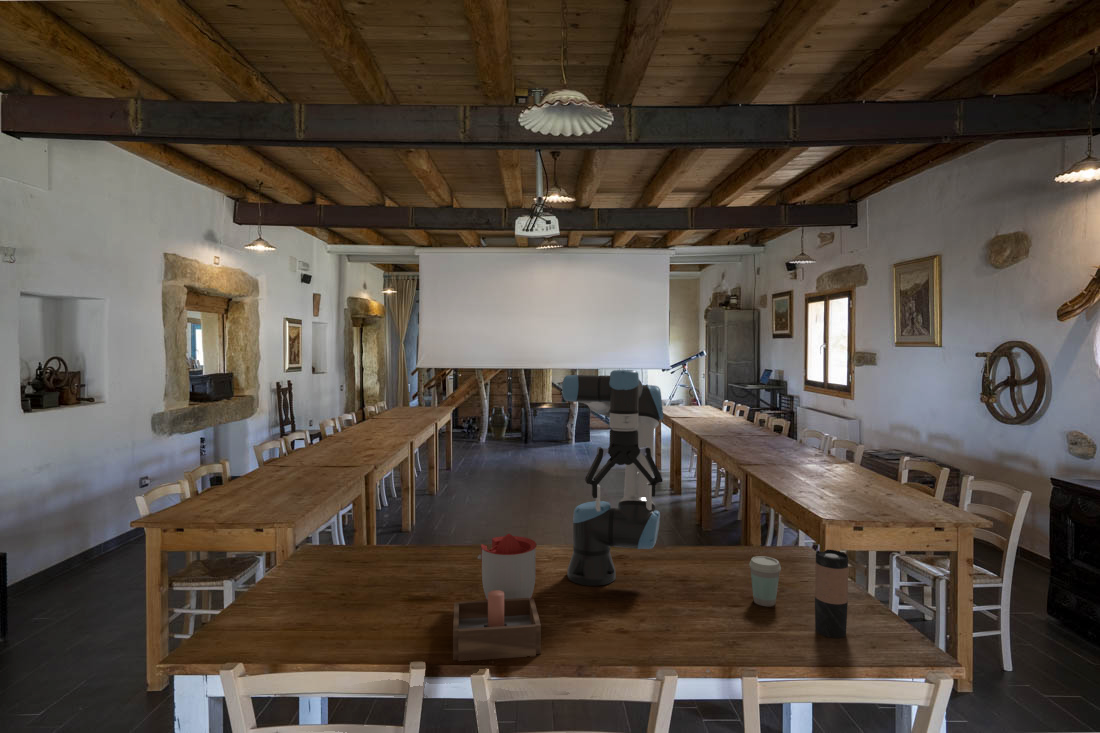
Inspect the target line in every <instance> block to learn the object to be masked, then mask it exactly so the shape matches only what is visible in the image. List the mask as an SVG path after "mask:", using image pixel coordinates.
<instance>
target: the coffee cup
mask: <svg viewBox="0 0 1100 733" xmlns="http://www.w3.org/2000/svg"><path fill="white" fill-rule="evenodd" d="M748 566H749V568H750V577H751V587H752V597H753V603H755V604H756V605H759V606H762V607H774V606H775V605H776V603H777V602H776V600H777V595H778V587H779V580H780V572H781V570H782V567H781V564H780V561H779V560H778V559H776V558H774V557H770V556H764V555H763V556H761V555H760V556H759V555H757V556H752V557H751V560H750V562H749V564H748Z"/></svg>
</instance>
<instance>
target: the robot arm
mask: <svg viewBox="0 0 1100 733" xmlns="http://www.w3.org/2000/svg"><path fill="white" fill-rule="evenodd" d="M609 374H610V375H593V374H592V375H591V374H589V375H587V374H586V375H585V374H584V375H583V374H580V375H579V374H573V375H572V374H569V375H568V374H567V375H565V376H564V377H563V380H562V390H561V391H562V393H561V394H562V397H563V400H564V401H566V402H572V403H578V402H579V403H583V404H584V405H586V406H588V408H589V409H590V410H591V411H592V412H594V413H595V414H598V415H601V416H604V417H607V418H609V427H610V428H611V429H610V430H609V446H608V447H607V448H604V447H603V448H602V447H601V446H598V447H597V449H596V450H597V451H596V455H595V458H594V459H593V462H592V463H591V466H590V467H589V470H588V472H587V474H586V476H585V477H584V481H585V483H586V484H588V485H591V496H592V498H593V499H595V500H594V501H587V502H584V503H581V504H579V505H577V506H576V507H575V508H574V510H573V518H572V526H573V527H572V528H573V532H572V533H573V534H572V540H573V543H572V545H573V547H572V548H573V549H572V550H573V551H572V554H571V558H570V561H569V564H568V567H567V578H568V580H569V581H571V582H573V583H575V584H577V585H581V586H591V587H595V586H596V587H597V586H604V585H608V584H611V583H613V582H614V581H615V580H616V575H617V574H616V567H615V565H614V561H613V558H612V555H611V547H615V548H616V547H617V548H628V549H631V548H632V549H637V550H651V549H653V548H654V547H655V545H656V542H657V539H658V535H659V527H660V519H661V512H660V511H659V510H656V504H655V503H654V502H653V500H652V498H653V497H654V498H655V496H656V486H657V484H659V483H663V480H664V478H663V477H662V475H661V473H660V471H659V469H658V467H657V465H656V463H655V461H654V437H655V436H654V435H655V429H656V428H658V427H659V424H660V421H662V420H664V410H663V400H662V393H661V392H662V391H661V387H659V386H658V385H651V384H643V382H642V381H641V380H640V378H639V372H638V371H637V370H633V369H614V370H612V371H611V372H610V373H609ZM607 454H608V455H609V457H610V458H609V459H608V460H607V461H606V463H605V464H604V466H603V467H602V468H601V469H600V470H599V471H598V472H597V470H598V469H599V467H600V465H601V462H602V461H603V457H606V455H607ZM615 465H618V466H623V465H624V466H625V472H624V487H623V488H624V489H623V498H621V499H620V500H619V501H618V506H617V507H612V505H611V502H609V501H603V500H601V485H600V483H601V481H602V480H603V479H604V478H605V476H607V474H608V473H609V472H610V470H612V468H613V467H615ZM595 474H596V475H595ZM653 476H654V477H653Z"/></svg>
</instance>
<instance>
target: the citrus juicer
mask: <svg viewBox="0 0 1100 733" xmlns="http://www.w3.org/2000/svg"><path fill="white" fill-rule="evenodd" d="M480 548H481V550H480V551H481V553H480V554H479V555H478V556H477V560H480V561H481V578H482V579H481V580H482V587H483V591H484V595H485V596H484V597H485V600H488V593H489V592H490V591H494V590H499V591H503V592H504V599H516V598H529V599H533V598H532V597H533V594H534V589H535V584H536V554H537V550H536V549H537V542H536V541H534V540H533V539H531V538H528V537H525V536H524V537H523V536H516V535H514V536H513V534H512V533H507V534H506V535H505V536H503V535H502V536H497V537H492V539H491V548H490V549H488V546H487V545H484V544H482V543H481V545H480Z"/></svg>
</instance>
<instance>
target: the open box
mask: <svg viewBox="0 0 1100 733" xmlns="http://www.w3.org/2000/svg"><path fill="white" fill-rule="evenodd" d="M452 623H453V624H452V625H453V626H452V628H453V629H452V660H453V661H457V662H468V661H469V662H470V660H471V661H481V660H482V661H483V660H497V659H498V660H499V659H513V658H515V659H516V658H525V657H527V656H530V657H537V655H536V654H540V655H542V643H541V642H542V624H541V620H540V617H539V613H538V609H537V606H536V602H535V599H534V598H531V599H529V598H516V599H504V626H499V627H488V600H486V599H485V600H481V599H480V600H465V601H464V600H462V601H459V602H454V605H453V622H452ZM527 658H528V657H527Z"/></svg>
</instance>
